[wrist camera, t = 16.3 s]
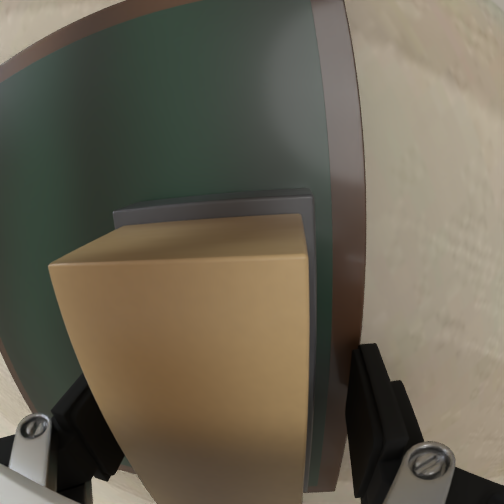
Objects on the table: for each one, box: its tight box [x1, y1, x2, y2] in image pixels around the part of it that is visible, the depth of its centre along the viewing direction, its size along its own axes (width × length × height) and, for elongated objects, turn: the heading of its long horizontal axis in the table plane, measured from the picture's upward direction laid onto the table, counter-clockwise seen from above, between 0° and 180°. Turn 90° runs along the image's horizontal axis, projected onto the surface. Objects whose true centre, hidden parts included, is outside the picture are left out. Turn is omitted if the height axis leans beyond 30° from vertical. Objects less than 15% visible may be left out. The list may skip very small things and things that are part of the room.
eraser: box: [48, 188, 317, 504], centre depth 8 cm, size 5×12×4 cm, turn 4°
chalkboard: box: [0, 0, 366, 493], centre depth 11 cm, size 18×22×1 cm
